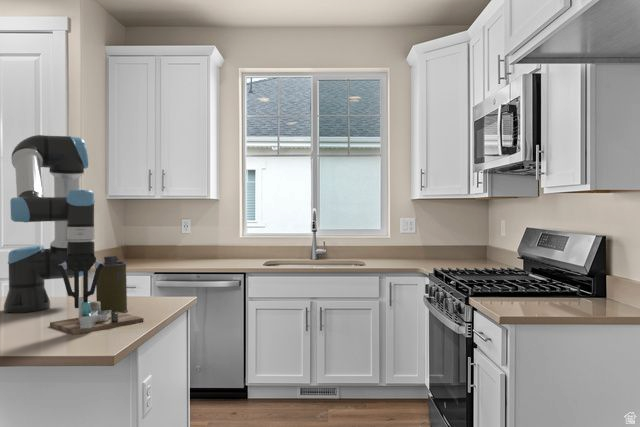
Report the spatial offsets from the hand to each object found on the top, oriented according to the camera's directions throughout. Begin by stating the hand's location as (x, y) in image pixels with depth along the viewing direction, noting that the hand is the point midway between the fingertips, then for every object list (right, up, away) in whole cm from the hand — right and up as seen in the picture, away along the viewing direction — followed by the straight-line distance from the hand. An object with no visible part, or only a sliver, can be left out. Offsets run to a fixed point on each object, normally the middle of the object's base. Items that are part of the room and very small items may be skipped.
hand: (81, 318), depth 161 cm
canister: (-1, -4, +28) cm, 28 cm away
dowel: (+8, -3, +5) cm, 10 cm away
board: (+1, -3, +9) cm, 9 cm away
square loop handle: (+2, -2, +4) cm, 4 cm away
